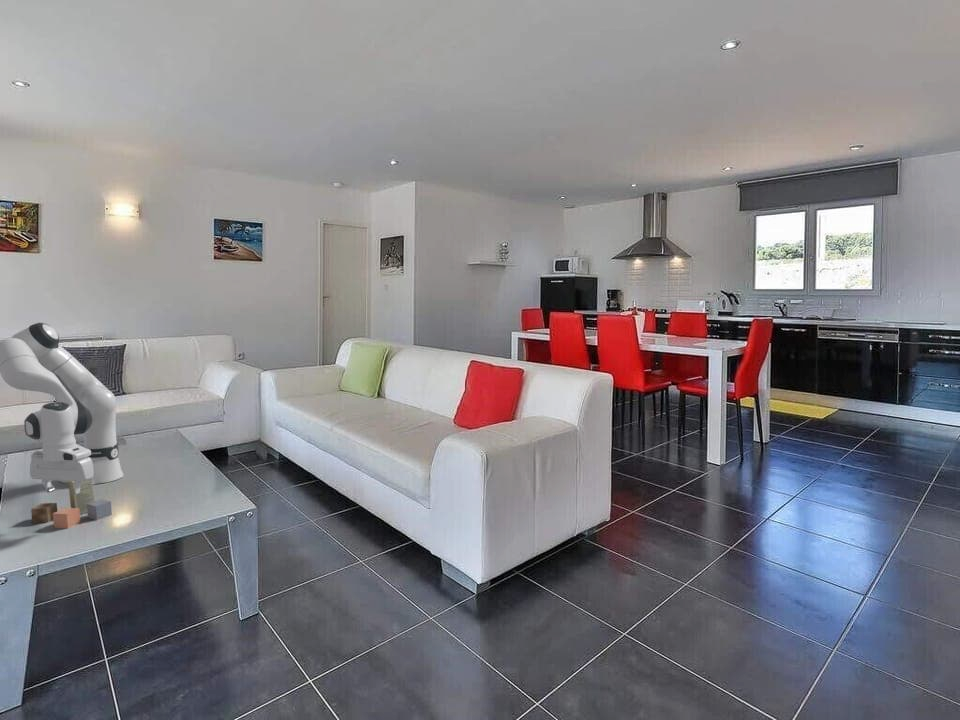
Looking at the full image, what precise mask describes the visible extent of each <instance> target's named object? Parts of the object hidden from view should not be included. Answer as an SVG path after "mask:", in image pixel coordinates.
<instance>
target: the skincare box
mask: <svg viewBox="0 0 960 720" xmlns="http://www.w3.org/2000/svg"><path fill="white" fill-rule="evenodd" d="M67 484H68V494H69V500H70V501H69V502H70V508H79V511H80V515H83V514H85V513H87V504H88V503H91V502H94V501H96V500H95V491H94V484H93V480H92V479H90V480H88V481H85V482H83V483H82V485H81V487H80V493H78V494H72V489H73V488H74V487H75V485H76V484H74V481H68V483H67Z"/></svg>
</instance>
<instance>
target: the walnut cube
mask: <svg viewBox="0 0 960 720" xmlns="http://www.w3.org/2000/svg"><path fill="white" fill-rule="evenodd" d="M30 510H31V511H30V512H31V523H32V524H39V523H40V524H41V523H50V522H51V521H54V520H53V513H55V512H57V511H58V503H57V502H45V503H43V502H42V503H39V504H38V505H36V506H34V507H31V509H30Z"/></svg>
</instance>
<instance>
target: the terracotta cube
mask: <svg viewBox="0 0 960 720" xmlns="http://www.w3.org/2000/svg"><path fill="white" fill-rule="evenodd" d="M52 521H53V528H54V529H55V528H56V529H70V528H72V527H74V526H76V525H77V524H80V523H81V514H80V511H79V508H71V507H64V508H62V509H59V510H57V512H55V513H53V520H52Z"/></svg>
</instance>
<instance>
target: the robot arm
mask: <svg viewBox="0 0 960 720" xmlns="http://www.w3.org/2000/svg"><path fill="white" fill-rule="evenodd" d="M59 344H60V336H59V334H58V332H57V331H56V330H55V329H54V328H53V327H52V326H50V325H49V324H47V323H44V322H36V323H33V324H31V325H29V327H26V328H24V329H23V330H20V331H19V332H16V333H15V334H13V335H12V336H11V337H9V338H5V339H2V340H0V377H1V378H2V380H3V381H4V382H5V383H6V384H7V385H8V386H10V387H11V388H14V389H16V390H20V391H30V392H39V393H45V394H48V395H50V396H52V397H53V398H54V399H55V400H56V401H54V402H48V403H45V404H43V405H42V406H41V407H40V410H37V411H35V412H31V413H30V414H28V415H27V417H26V418H25V419H24V421H23V422H24V423H23V424H24V433H25V435H26V436H27V437H29V438H30V439H32V440H36V441H39V440H42V446H41V447H42V450H36V451H34V452H32V454H31V455H30V457H31V461H30V467H29V475H30V477H31V479H32V480H41V484H42V486H44V488H45V492H46V493H53V492H54V491H55V486H54V485H52V482H51V481H59V482H60V483H62V484H68V481H74V484H76V485H75V487H74V488H73V489H72V494H78V493H80V487H81V485H82V483H83V482H85V481H88V480H90V479H92V480H93V485H99V484H103V483H104V484H105V483H110V482H113V481H116V480H119V479H121V478H123V477H124V476H125V475H124V472H123V470H122V467H121V466H122V465H121V462H120V458H119V444H118V442H117V429H116V428H117V427H116V426H117V425H116V424H117V423H116V421H117V419H116V418H117V399H116V396H115V394H114V393H113V392H112V391H111V390H109V388H108V387H107V386H105V385H104V384H103V383H102V382H101V381H100V380H99V379H97V377H96V376H95V375H93V373H91V372H90V371H89V369H87V368H86V367H85V366H84V365H83V364H82V363H81V362H79V360H78V359H77V358H75V356H73V355H72V354H71V353H70V352H69V351H68V350H66V349H65V348H63V346H61V345H59ZM76 435H83V442H84V444H83V445H84V446H81V445H80V444H77V440H76V437H75V436H76Z"/></svg>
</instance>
